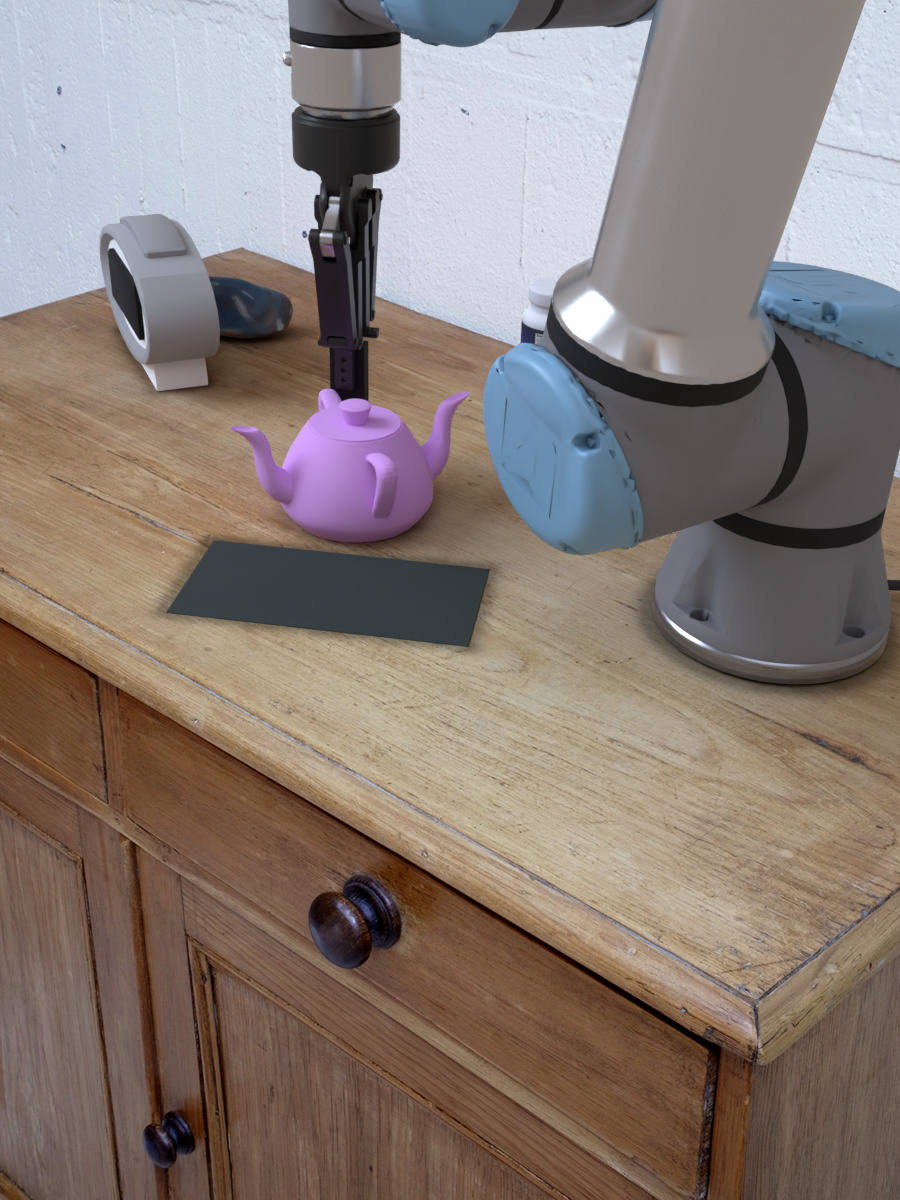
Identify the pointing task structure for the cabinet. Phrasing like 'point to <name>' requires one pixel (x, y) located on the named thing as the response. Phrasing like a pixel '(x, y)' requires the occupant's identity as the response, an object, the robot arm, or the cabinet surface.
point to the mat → (334, 592)
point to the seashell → (249, 308)
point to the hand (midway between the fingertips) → (349, 421)
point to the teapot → (355, 469)
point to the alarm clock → (160, 298)
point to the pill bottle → (537, 310)
